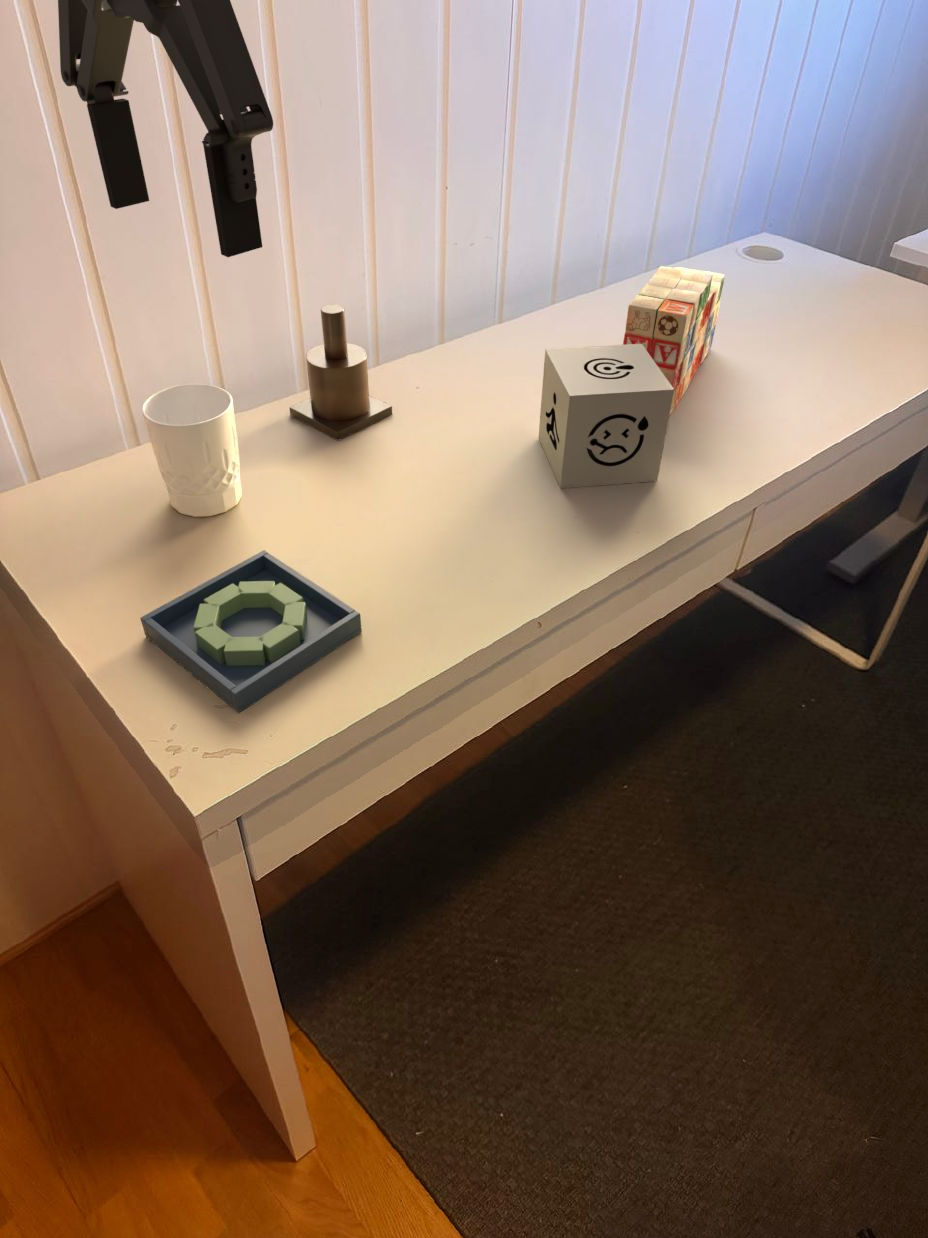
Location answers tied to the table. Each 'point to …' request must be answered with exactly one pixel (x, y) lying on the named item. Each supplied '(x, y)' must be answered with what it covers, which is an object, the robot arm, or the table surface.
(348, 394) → the peg stand
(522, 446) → the table surface
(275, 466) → the table surface
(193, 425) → the white cup
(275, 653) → the ring
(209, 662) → the tray
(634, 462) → the icon cube
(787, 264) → the table surface
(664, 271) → the stack of blocks
